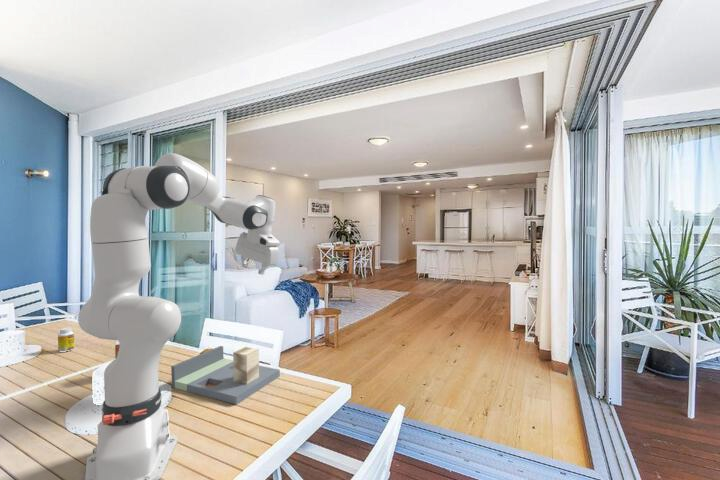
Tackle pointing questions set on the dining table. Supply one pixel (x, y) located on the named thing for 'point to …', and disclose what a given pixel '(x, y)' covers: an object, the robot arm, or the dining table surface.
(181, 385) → the pad
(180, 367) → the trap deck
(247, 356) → the birch block
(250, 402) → the dining table surface
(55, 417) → the dining table surface
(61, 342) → the supplement bottle
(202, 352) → the bread roll
